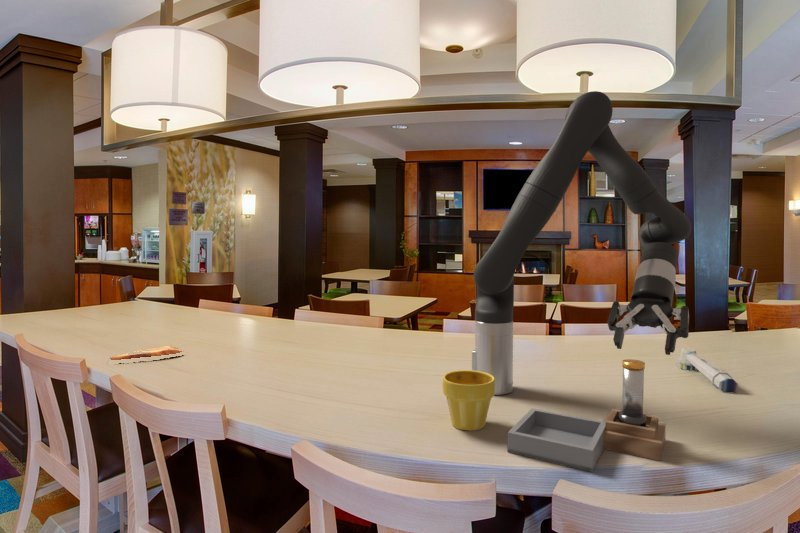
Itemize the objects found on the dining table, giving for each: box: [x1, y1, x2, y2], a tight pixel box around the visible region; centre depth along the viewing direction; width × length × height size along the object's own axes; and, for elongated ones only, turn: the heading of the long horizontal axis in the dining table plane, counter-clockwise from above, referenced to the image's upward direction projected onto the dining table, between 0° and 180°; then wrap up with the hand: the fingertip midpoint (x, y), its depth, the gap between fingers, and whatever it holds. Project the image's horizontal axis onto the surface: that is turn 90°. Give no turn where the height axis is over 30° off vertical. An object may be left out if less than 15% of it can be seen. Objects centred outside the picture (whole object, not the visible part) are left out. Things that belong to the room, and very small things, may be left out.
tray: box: [507, 407, 606, 473], centre depth 86 cm, size 14×14×4 cm
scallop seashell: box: [109, 345, 183, 360], centre depth 153 cm, size 18×18×4 cm
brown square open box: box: [602, 408, 667, 462], centre depth 86 cm, size 10×10×4 cm
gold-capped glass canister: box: [619, 358, 646, 427], centre depth 86 cm, size 4×4×12 cm
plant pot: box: [442, 369, 495, 431], centre depth 96 cm, size 10×10×10 cm
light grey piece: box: [676, 346, 739, 393], centre depth 127 cm, size 5×7×25 cm
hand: (642, 349), depth 92 cm, fingers open, 8 cm apart
